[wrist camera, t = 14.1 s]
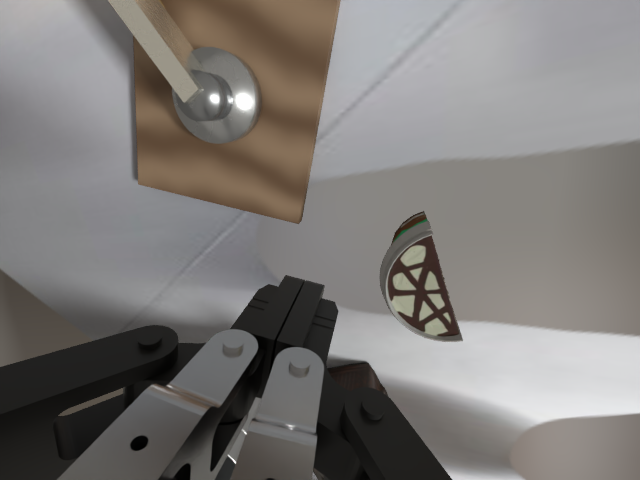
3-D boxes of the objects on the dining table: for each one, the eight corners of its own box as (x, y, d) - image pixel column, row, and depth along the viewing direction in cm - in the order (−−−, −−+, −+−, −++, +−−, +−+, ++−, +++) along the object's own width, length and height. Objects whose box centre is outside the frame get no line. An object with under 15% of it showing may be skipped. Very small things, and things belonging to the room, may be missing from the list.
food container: (367, 214, 39) (361, 247, 29) (420, 198, 37) (431, 228, 28) (397, 302, 42) (400, 356, 33) (446, 292, 40) (464, 345, 31)
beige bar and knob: (278, 108, 34) (258, 108, 29) (219, 158, 38) (190, 166, 32) (167, -54, 31) (120, -90, 25) (113, 15, 34) (60, -3, 29)
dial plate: (301, 220, 40) (298, 224, 39) (146, 181, 42) (137, 184, 41) (343, -16, 31) (340, -22, 29) (140, -50, 33) (128, -57, 32)
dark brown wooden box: (398, 414, 49) (403, 569, 32) (330, 424, 52) (304, 568, 36) (361, 330, 45) (346, 458, 28) (290, 346, 48) (239, 469, 32)
